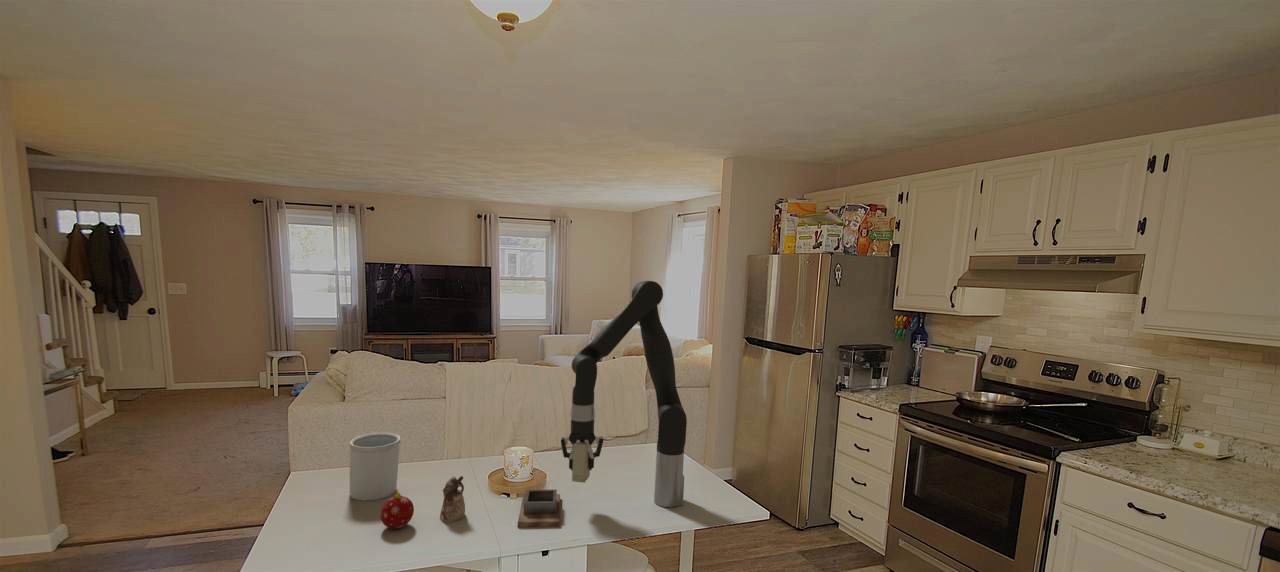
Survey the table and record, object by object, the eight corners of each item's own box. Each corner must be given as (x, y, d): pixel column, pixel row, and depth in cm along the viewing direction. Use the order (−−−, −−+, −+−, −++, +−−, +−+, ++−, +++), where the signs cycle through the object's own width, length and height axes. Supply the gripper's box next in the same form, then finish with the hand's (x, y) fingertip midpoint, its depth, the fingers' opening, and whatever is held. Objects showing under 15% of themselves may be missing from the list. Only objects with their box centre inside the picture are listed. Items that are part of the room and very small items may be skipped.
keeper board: (560, 498, 168) (560, 494, 168) (558, 526, 150) (559, 521, 150) (523, 498, 167) (523, 494, 167) (517, 527, 148) (517, 522, 148)
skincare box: (584, 483, 159) (586, 445, 159) (571, 481, 160) (572, 443, 160) (590, 475, 165) (591, 439, 165) (576, 474, 166) (578, 437, 166)
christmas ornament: (382, 537, 139) (384, 501, 138) (377, 524, 146) (379, 490, 145) (416, 529, 144) (417, 494, 144) (409, 517, 151) (411, 484, 150)
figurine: (440, 512, 155) (441, 473, 154) (464, 509, 157) (466, 471, 157) (439, 523, 148) (441, 482, 148) (465, 520, 150) (467, 480, 150)
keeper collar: (556, 500, 164) (556, 489, 163) (555, 514, 154) (556, 502, 154) (526, 500, 162) (526, 489, 162) (523, 514, 153) (523, 503, 153)
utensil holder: (396, 499, 162) (399, 444, 162) (343, 504, 157) (346, 448, 156) (399, 481, 176) (402, 431, 176) (351, 485, 170) (353, 434, 170)
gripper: (604, 413, 167) (602, 464, 167) (560, 414, 165) (558, 465, 165) (605, 420, 160) (604, 473, 160) (560, 420, 157) (558, 474, 158)
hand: (581, 469), depth 162 cm, fingers closed on skincare box, 5 cm apart
